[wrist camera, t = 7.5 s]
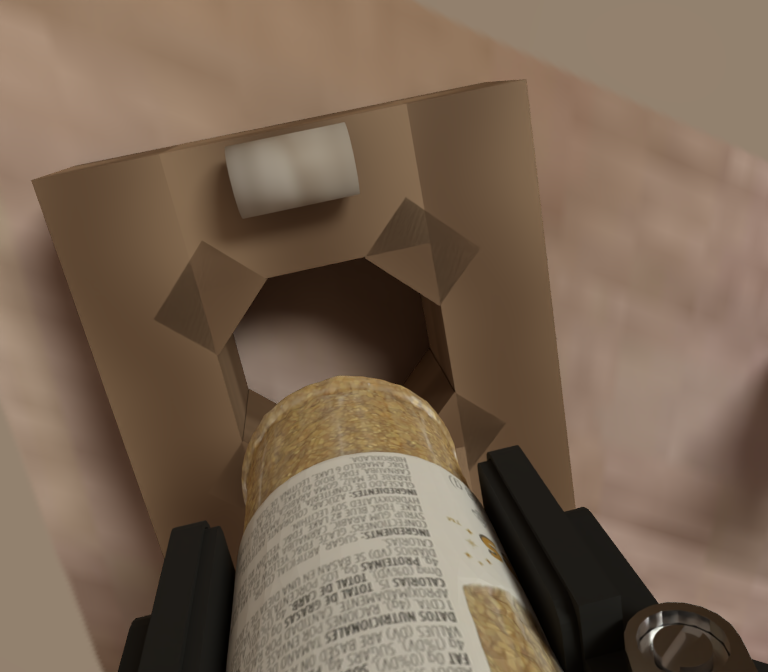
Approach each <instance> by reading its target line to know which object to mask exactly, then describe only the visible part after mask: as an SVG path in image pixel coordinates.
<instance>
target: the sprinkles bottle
mask: <svg viewBox="0 0 768 672" xmlns="http://www.w3.org/2000/svg"><path fill="white" fill-rule="evenodd" d="M241 480H242V491H243V497H244V502H245V505H246V514H245V521H244V531H243V537H242V540H241V543H240V547H239V552H238V556H237V564H236V574H235V584H234V595H233V606H232V616H231V626H230V635H229V644H228V654H227V664H226V672H563V670H562V668H561V666H560V664H559V662H558V660H557V658H556V656H555V654H554V652H553V651H552V649H551V647H550V645H549V642H548V640H547V638H546V636H545V634H544V632H543V629H542V627H541V625H540V623H539V621H538V619H537V616H536V614H535V612H534V610H533V608H532V606H531V604H530V602H529V600H528V598H527V596H526V594H525V592H524V590H523V588H522V586H521V584H520V582H519V580H518V577H517V575H516V573H515V571H514V569H513V567H512V565H511V563H510V561H509V559H508V556H507V554H506V552H505V550H504V548H503V546H502V544H501V542H500V540H499V538H498V536H497V534H496V531H495V529H494V527H493V525H492V523H491V521H490V519H489V517H488V516H487V514H486V512H485V510H484V508H483V506H482V504H481V503H480V501H479V500H478V499H477V497H476V496H475V495H474V493H473V492H472V491H471V490H470V488H469V486H468V484H467V481H466V479H465V477H464V476H463V474H462V471H461V468H460V466H459V464H458V459H457V454H456V450H455V445H454V442H453V440H452V438H451V436H450V433H449V431H448V429H447V427H446V426H445V424H444V422H443V421H442V419H441V418H440V417H439V415H438V414H437V413H436V411H435V410H434V409H433V408H432V407H431V406H430V404H429V403H428V402H427V401H425V400H424V399H422V398H421V397H419V396H418V395H416V394H415V393H413V392H412V391H410V390H409V389H407V388H405V387H403V386H401V385H397V384H393V383H390V382H387V381H384V380H382V379H375V378H367V377H363V376H356V377H355V376H336V377H333V378H329V379H326V380H324V381H321V382H318V383H315V384H311V385H308V386H306V387H304V388H302V389H300V390H298V391H296V392H294V393H292V394H290V395H288V396H287V397H285V398H284V399H283V400H281V401H280V402H279V403H278V404H277V405H276V406H275V407H274V408H273V409H272V410H270V411H269V412H268V413H267V414H265V415H264V417H263V419H262V421H261V422H260V424H259V426H258V427H257V429H256V430H255V432H254V433H253V435H252V437H251V440H250V442H249V444H248V447H247V450H246V453H245V456H244V460H243V465H242V478H241Z"/></svg>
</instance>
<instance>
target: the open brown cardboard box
mask: <svg viewBox="0 0 768 672" xmlns="http://www.w3.org/2000/svg"><path fill="white" fill-rule="evenodd" d="M31 181H32V184H33V186H34V189H35V192H36V195H37V198H38V201H39V204H40V206H41V209H42V212H43V215H44V218H45V221H46V223H47V226H48V229H49V232H50V235H51V238H52V241H53V243H54V246H55V249H56V252H57V255H58V258H59V260H60V263H61V266H62V269H63V272H64V275H65V278H66V280H67V283H68V286H69V289H70V292H71V295H72V297H73V300H74V303H75V306H76V309H77V312H78V315H79V317H80V320H81V323H82V326H83V329H84V332H85V334H86V337H87V340H88V343H89V346H90V349H91V352H92V354H93V357H94V360H95V363H96V366H97V369H98V371H99V374H100V377H101V380H102V383H103V386H104V388H105V391H106V394H107V397H108V400H109V403H110V406H111V408H112V411H113V414H114V417H115V420H116V423H117V425H118V428H119V431H120V434H121V437H122V440H123V443H124V445H125V448H126V451H127V454H128V457H129V460H130V462H131V465H132V468H133V471H134V474H135V477H136V480H137V482H138V485H139V488H140V491H141V494H142V497H143V499H144V502H145V505H146V508H147V511H148V514H149V517H150V519H151V522H152V525H153V528H154V531H155V534H156V536H157V539H158V542H159V545H160V548H161V551H162V554H163V556H164V559H165V555H166V551H167V547H168V542H169V538H170V534H171V531H172V529H173V528H175V527H179V526H184V525H188V524H192V523H196V522H200V521H204V520H206V521H207V522H208V524H209V525H210V528H212V527H216V526H220V527H221V528H222V530H223V533H224V536H225V539H226V543H227V546H228V549H229V552H230V555H231V558H232V562H233V565H234V568H235V571H236V564H237V556H238V552H239V547H240V543H241V540H242V537H243V531H244V521H245V514H246V505H245V502H244V497H243V491H242V480H241V478H242V465H243V460H244V456H245V453H246V450H247V447H248V444H249V442H250V440H251V437H252V435H253V433H254V432H255V430H256V429H257V427H258V426H259V424H260V422H261V421H262V419H263V417H264V415H265V414H267V413H268V412H269V411H270V410H272V409H273V408H274V407H275V406H276V405H277V404H276V403H274V402H272V401H270V400H268V399H267V398H265V397H263V396H261V395H259V394H258V393H256V392H254V391H252V390H250V389H249V390H248V386H247V382H246V379H245V375H244V372H243V368H242V364H241V361H240V357H239V354H238V350H237V346H236V343H235V339H234V336H233V332H234V330H235V328H236V327H237V325H238V324H239V322H240V321H241V319H242V318H243V316H244V314H245V313H246V311H247V310H248V308H249V307H250V305H251V303H252V302H253V300H254V299H255V297H256V296H257V294H258V292H259V291H260V289H261V288H262V286H263V285H264V283H265V282H266V280H267V278H270V277H275V276H279V275H284V274H288V273H293V272H298V271H302V270H307V269H311V268H316V267H321V266H325V265H330V264H334V263H339V262H344V261H348V260H353V259H358V258H362V257H365V259H367V260H369V261H370V262H372V263H373V264H375V265H376V266H378V267H379V268H381V269H383V270H384V271H386V272H387V273H389V274H390V275H392V276H394V277H395V278H397V279H398V280H400V281H401V282H403V283H405V284H406V285H408V286H409V287H411V288H412V289H414V290H415V291H417V292H419V293H420V294H421V300H422V306H423V311H424V317H425V322H426V328H427V333H428V339H429V345H430V348H429V349H428V351H427V352H426V354H425V355H424V356H423V358H422V359H421V361H420V362H419V363H418V365H417V366H416V368H415V369H414V371H413V372H412V373H411V375H410V376H409V378H408V379H407V380H406V382H405V383H404V385H403V387H405V388H407V389H409V390H410V391H412V392H413V393H415V394H416V395H418V396H419V397H421V398H422V399H424V400H425V401H427V402H428V403H429V404H430V406H431V407H432V408H433V409H434V410H435V411H436V413H437V414H438V415H439V417H440V418H441V419H442V421H443V422H444V424H445V426H446V427H447V429H448V431H449V433H450V436H451V438H452V440H453V442H454V445H455V450H456V454H457V459H458V464H459V466H460V468H461V471H462V474H463V476H464V477H465V479H466V481H467V484H468V486H469V488H470V490H471V491H472V492H473V493H474V495H475V496H476V497H477V499H478V500H479V501H480V503H481V504H482V506H483V500H482V494H481V488H480V482H479V476H478V469H477V464H478V463H480V462H484V461H487V452H490V451H494V450H498V449H502V448H507V447H511V446H515V445H519V447H520V448H521V449H522V451H523V452H524V454H525V455H526V457H527V458H528V459H529V461H530V462H531V464H532V465H533V467H534V468H535V470H536V471H537V473H538V474H539V476H540V477H541V479H542V480H543V482H544V483H545V485H546V486H547V487H548V489H549V490H550V492H551V493H552V495H553V496H554V498H555V499H556V501H557V502H558V504H559V505H560V507H561V508H562V510H563V511H564V512H565V511H569V510H573V509H576V508H575V500H574V491H573V482H572V473H571V465H570V456H569V447H568V439H567V430H566V421H565V412H564V404H563V395H562V386H561V378H560V369H559V360H558V352H557V343H556V334H555V325H554V317H553V308H552V299H551V291H550V282H549V273H548V264H547V256H546V247H545V238H544V230H543V221H542V212H541V204H540V195H539V186H538V177H537V169H536V160H535V151H534V143H533V134H532V125H531V116H530V108H529V99H528V90H527V82H526V79H523V80H510V81H496V82H485V83H480V84H475V85H470V86H465V87H460V88H455V89H450V90H445V91H441V92H436V93H431V94H426V95H421V96H416V97H411V98H406V99H401V100H396V101H391V102H387V103H382V104H377V105H372V106H367V107H362V108H357V109H352V110H347V111H342V112H337V113H333V114H328V115H323V116H318V117H313V118H308V119H303V120H298V121H293V122H288V123H283V124H279V125H274V126H269V127H264V128H259V129H254V130H249V131H244V132H239V133H234V134H229V135H225V136H220V137H215V138H210V139H205V140H200V141H195V142H190V143H185V144H180V145H175V146H171V147H166V148H161V149H156V150H151V151H146V152H141V153H136V154H131V155H126V156H121V157H117V158H112V159H107V160H102V161H97V162H92V163H87V164H82V165H77V166H73V167H70V168H67V169H64V170H61V171H58V172H55V173H52V174H49V175H46V176H43V177H40V178H37V179H34V180H31ZM483 508H484V506H483Z"/></svg>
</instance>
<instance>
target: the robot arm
mask: <svg viewBox="0 0 768 672" xmlns="http://www.w3.org/2000/svg"><path fill="white" fill-rule="evenodd" d="M477 469H478V476H479V482H480V488H481V494H482V500H483V506H484V510H485V512H486V514H487V516H488V517H489V519H490V521H491V523H492V525H493V527H494V529H495V531H496V534H497V536H498V538H499V540H500V542H501V544H502V546H503V548H504V550H505V552H506V554H507V556H508V559H509V561H510V563H511V565H512V567H513V569H514V571H515V573H516V575H517V577H518V580H519V582H520V584H521V586H522V588H523V590H524V592H525V594H526V596H527V598H528V600H529V602H530V604H531V606H532V608H533V610H534V612H535V614H536V616H537V619H538V621H539V623H540V625H541V627H542V629H543V632H544V634H545V636H546V638H547V640H548V642H549V645H550V647H551V649H552V651H553V652H554V654H555V656H556V658H557V660H558V662H559V664H560V666H561V668H562V670H563V672H768V664H766V663H763V662H759V661H756V660H753V659H752V658H751V657H750V655H749V653H748V651H747V649H746V647H745V645H744V643H743V641H742V639H741V637H740V635H739V634H738V633H737V631H736V630H735V629H734V627H733V626H732V625H731V624H730V623H729V622H728V621H726V620H725V619H724V618H722V617H721V616H720V615H718V614H717V613H714V612H712V611H710V610H708V609H706V608H703V607H701V606H697V605H692V604H688V603H679V602H665V603H660V604H659V603H658V602H657V601H656V599H655V598H654V597H653V595H652V594H651V593H650V591H649V590H648V589H647V587H646V586H645V585H644V583H643V582H642V580H641V579H640V578H639V576H638V575H637V574H636V572H635V571H634V570H633V568H632V567H631V566H630V564H629V563H628V562H627V560H626V559H625V558H624V556H623V555H622V554H621V552H620V551H619V549H618V548H617V547H616V545H615V544H614V543H613V541H612V540H611V539H610V537H609V536H608V535H607V533H606V532H605V531H604V529H603V528H602V527H601V525H600V524H599V522H598V521H597V520H596V518H595V517H594V516H593V514H592V513H591V512H590V511H589V510H588V509H587V508H585V507H581V508H577V509H573V510H569V511H565V512H564V511H563V510H562V508H561V507H560V505H559V504H558V502H557V501H556V499H555V498H554V496H553V495H552V493H551V492H550V490H549V489H548V487H547V486H546V485H545V483H544V482H543V480H542V479H541V477H540V476H539V474H538V473H537V471H536V470H535V468H534V467H533V465H532V464H531V462H530V461H529V459H528V458H527V457H526V455H525V454H524V452H523V451H522V449H521V448H520V447H519V445H515V446H511V447H507V448H502V449H498V450H494V451H490V452H487V461H484V462H480V463H478V464H477ZM235 574H236V571H235V568H234V565H233V562H232V558H231V555H230V552H229V549H228V546H227V543H226V539H225V536H224V533H223V530H222V528H221V527H220V526H216V527H212V528H210V525H209V524H208V522H207V521H206V520H204V521H200V522H196V523H192V524H188V525H184V526H179V527H175V528H173V529H172V531H171V534H170V538H169V542H168V547H167V551H166V555H165V559H164V563H163V568H162V572H161V576H160V580H159V585H158V589H157V593H156V597H155V601H154V606H153V610H152V614H151V615H148V616H144V617H140V618H136V619H135V620H134V621H133V622H132V624H131V626H130V629H129V633H128V636H127V640H126V644H125V647H124V651H123V655H122V658H121V662H120V666H119V669H118V672H226V664H227V654H228V644H229V635H230V626H231V616H232V606H233V595H234V584H235Z"/></svg>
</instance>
